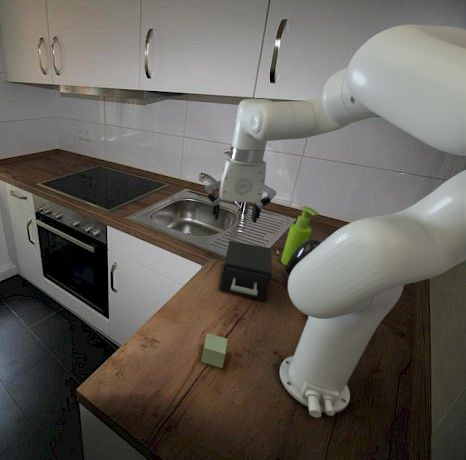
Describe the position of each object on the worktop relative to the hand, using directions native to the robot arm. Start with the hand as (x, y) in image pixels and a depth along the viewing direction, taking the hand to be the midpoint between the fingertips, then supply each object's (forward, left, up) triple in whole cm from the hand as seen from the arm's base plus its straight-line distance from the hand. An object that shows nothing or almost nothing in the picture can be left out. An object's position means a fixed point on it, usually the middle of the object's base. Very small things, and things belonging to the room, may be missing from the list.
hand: (234, 219), depth 83 cm
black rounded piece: (+11, -22, -23) cm, 33 cm away
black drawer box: (+5, -6, -22) cm, 24 cm away
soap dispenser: (+22, -20, -23) cm, 37 cm away
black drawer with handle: (+1, -6, -21) cm, 22 cm away
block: (-27, -1, -22) cm, 35 cm away
